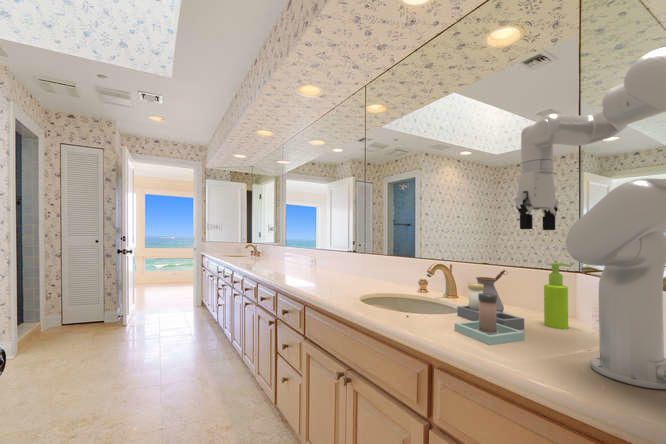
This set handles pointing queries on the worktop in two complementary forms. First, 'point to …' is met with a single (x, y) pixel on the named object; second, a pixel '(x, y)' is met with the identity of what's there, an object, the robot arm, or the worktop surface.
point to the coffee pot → (492, 288)
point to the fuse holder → (500, 317)
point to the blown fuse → (487, 313)
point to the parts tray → (505, 337)
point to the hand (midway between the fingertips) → (537, 229)
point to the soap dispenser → (556, 300)
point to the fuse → (474, 295)
